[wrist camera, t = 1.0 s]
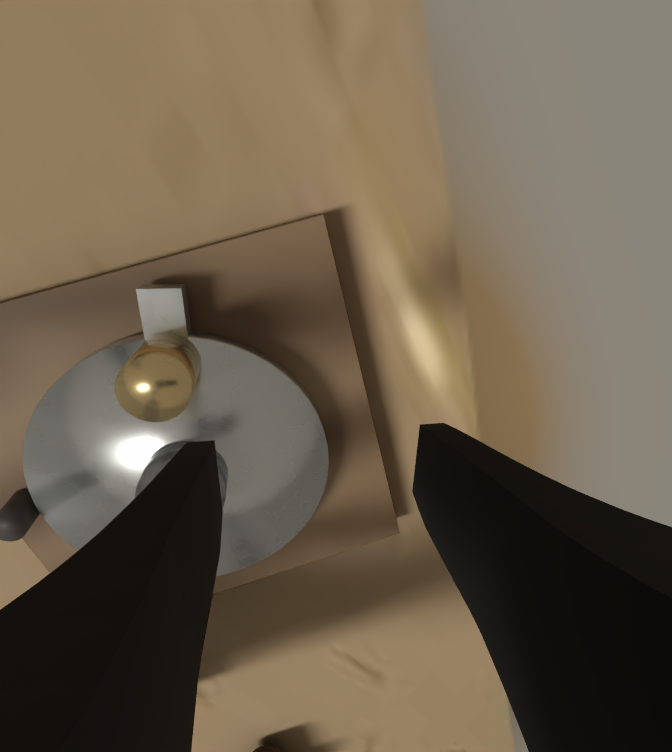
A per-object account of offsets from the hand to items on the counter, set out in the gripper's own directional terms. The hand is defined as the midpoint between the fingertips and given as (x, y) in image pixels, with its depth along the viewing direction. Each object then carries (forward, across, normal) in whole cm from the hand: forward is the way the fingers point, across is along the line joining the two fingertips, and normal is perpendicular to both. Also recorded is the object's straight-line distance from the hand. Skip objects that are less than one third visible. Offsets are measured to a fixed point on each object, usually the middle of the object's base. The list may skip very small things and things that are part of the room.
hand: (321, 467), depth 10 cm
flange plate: (+9, +5, +6) cm, 12 cm away
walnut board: (+10, +5, +6) cm, 13 cm away
